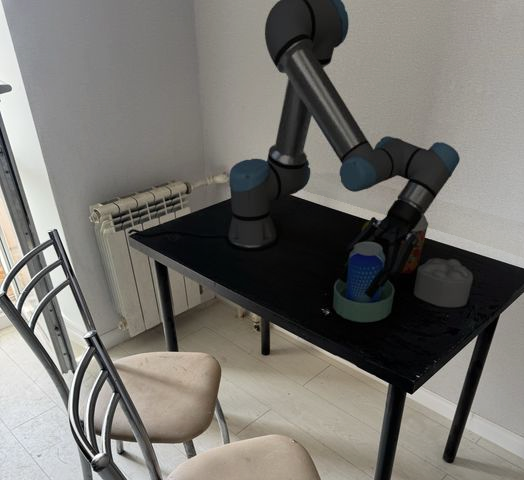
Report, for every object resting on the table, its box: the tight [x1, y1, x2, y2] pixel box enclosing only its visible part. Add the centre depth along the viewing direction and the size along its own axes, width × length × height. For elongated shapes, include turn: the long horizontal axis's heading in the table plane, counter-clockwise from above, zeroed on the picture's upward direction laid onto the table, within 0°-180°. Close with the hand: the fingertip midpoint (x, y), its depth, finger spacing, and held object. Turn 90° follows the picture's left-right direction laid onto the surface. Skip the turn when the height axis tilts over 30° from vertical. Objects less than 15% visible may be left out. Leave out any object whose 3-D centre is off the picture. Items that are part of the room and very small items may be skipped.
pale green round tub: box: [332, 278, 396, 323], centre depth 125 cm, size 15×15×6 cm
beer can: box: [346, 242, 386, 303], centre depth 121 cm, size 8×8×16 cm
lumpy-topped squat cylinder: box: [413, 257, 474, 308], centre depth 127 cm, size 10×13×9 cm
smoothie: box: [397, 214, 429, 275], centre depth 134 cm, size 8×8×20 cm
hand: (354, 288), depth 121 cm, fingers closed on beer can, 8 cm apart
